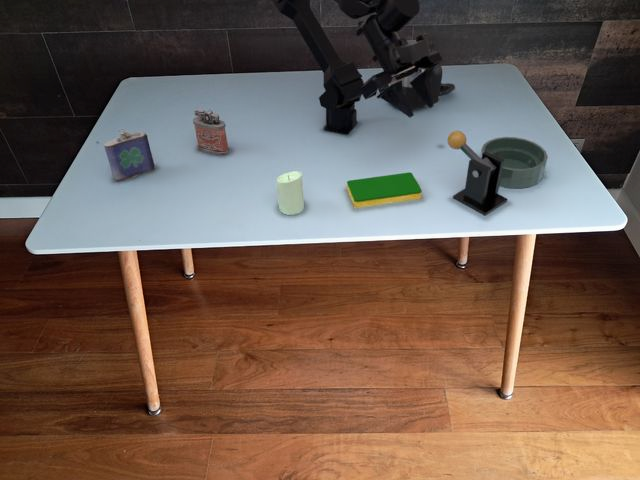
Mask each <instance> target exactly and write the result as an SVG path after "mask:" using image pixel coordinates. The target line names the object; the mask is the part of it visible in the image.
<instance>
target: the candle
mask: <svg viewBox="0 0 640 480" xmlns="http://www.w3.org/2000/svg"><path fill="white" fill-rule="evenodd" d="M303 183H304V182H303V174H302V172H301V171H289V172H285V173H283V174H281V175H279V176H278V177H277V178H276V189H277V190H276V191H277V198H278V199H277V201H278V208H279V209H278V210H279V211H280V213H282V214H284V215H288V216H294V215H298V214H300V213H302V212H303V211H304V209H305V201H304V186H303V185H304V184H303Z"/></svg>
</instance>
